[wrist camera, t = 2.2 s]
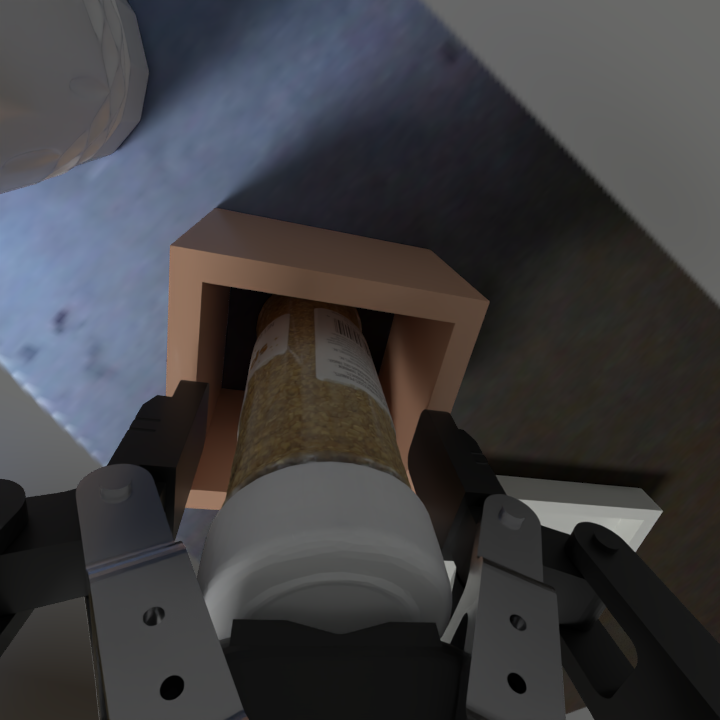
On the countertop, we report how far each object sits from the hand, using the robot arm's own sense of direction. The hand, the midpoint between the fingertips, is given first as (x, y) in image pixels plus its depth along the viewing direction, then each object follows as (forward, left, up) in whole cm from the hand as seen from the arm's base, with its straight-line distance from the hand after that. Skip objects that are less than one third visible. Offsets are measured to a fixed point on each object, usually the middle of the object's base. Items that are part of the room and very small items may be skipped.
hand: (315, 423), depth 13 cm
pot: (0, 0, -7) cm, 7 cm away
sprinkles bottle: (0, 0, -7) cm, 7 cm away
